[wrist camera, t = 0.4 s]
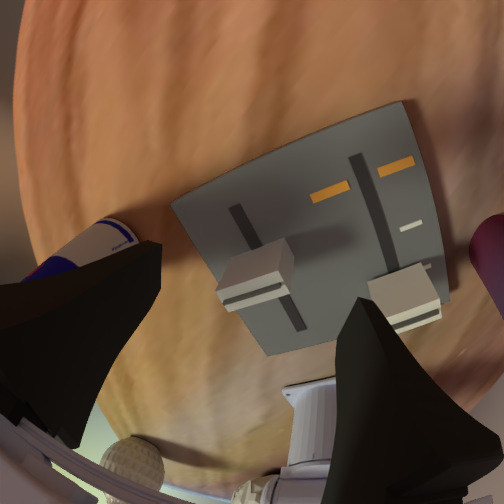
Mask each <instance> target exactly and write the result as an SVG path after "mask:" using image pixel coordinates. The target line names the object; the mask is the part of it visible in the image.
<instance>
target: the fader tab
mask: <svg viewBox="0 0 504 504" xmlns="http://www.w3.org/2000/svg"><path fill="white" fill-rule="evenodd" d="M367 283H368V287H369V291H370V295H371V299H372V300H373V301H374V302H375V304H376V305H377V306H378V307H379V309H380V310H381V312H382V313H383V314H384V316H385V317H386V319H387V320H388V322H389V323H390V324H391V326H392V327H393V329H394V330H395V332H396V333H397V334H398V333H401V332H404V331H407V330H410V329H413V328H416V327H418V326H421V325H424V324H427V323H429V322H432V321H435V320H437V319H440V318H442V315H441V305H440V298H439V296H438V294H437V292H436V290H435V288H434V286H433V284H432V282H431V280H430V279H429V277H428V275H427V273H426V271H425V269H424V268H423V266H422V264H421V262H420V263H418V264H415V265H413V266H410V267H407V268H405V269H402V270H399V271H396V272H394V273H391V274H388V275H385V276H383V277H380V278H377V279H374V280H371V281H368V282H367Z"/></svg>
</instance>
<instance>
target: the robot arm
mask: <svg viewBox="0 0 504 504" xmlns="http://www.w3.org/2000/svg"><path fill="white" fill-rule="evenodd" d="M161 258H162V244H159V243H156V242H152V241H149V240H147V241H143V242H140V243H138V244H135V245H133V246H130V247H128V248H125V249H123V250H121V251H118V252H116V253H114V254H111V255H109V256H106V257H104V258H102V259H99V260H96V261H94V262H91V263H89V264H86V265H83V266H81V267H78V268H75V269H72V270H69V271H66V272H63V273H59V274H56V275H52V276H49V277H44V278H40V279H35V280H30V281H26V282H20V283H13V284H4V285H0V504H97V503H98V498H97V497H95V496H93V495H92V494H90V493H89V492H87V491H85V490H84V489H82V488H81V487H79V486H78V485H77V484H76V483H75V482H73V481H71V480H70V479H68V478H67V477H65V476H64V475H62V474H61V473H59V472H58V471H56V470H55V469H53V468H52V464H51V461H52V462H53V463H55V464H56V465H58V466H59V467H61V468H62V469H64V470H66V471H67V472H69V473H70V474H72V475H74V476H76V477H77V478H79V479H81V480H82V481H84V482H86V483H88V484H90V485H91V486H93V487H95V488H97V489H99V490H101V491H103V492H105V493H107V494H109V495H111V496H113V497H115V498H117V499H119V500H121V501H124V502H126V503H128V504H195V503H191V502H188V501H184V500H181V499H178V498H175V497H172V496H169V495H167V494H164V493H161V492H158V491H156V490H153V489H150V488H148V487H145V486H143V485H141V484H138V483H136V482H133V481H131V480H129V479H127V478H124V477H122V476H120V475H118V474H116V473H114V472H112V471H110V470H108V469H106V468H104V467H102V466H100V465H98V464H96V463H94V462H92V461H90V460H88V459H87V458H85V457H83V456H81V455H79V454H78V453H76V452H74V451H73V450H71V449H76V448H78V447H79V446H80V443H81V439H82V436H83V433H84V430H85V427H86V424H87V421H88V418H89V416H90V413H91V410H92V408H93V406H94V403H95V401H96V398H97V396H98V394H99V392H100V389H101V387H102V385H103V383H104V381H105V379H106V377H107V375H108V373H109V371H110V369H111V367H112V365H113V363H114V361H115V359H116V358H117V356H118V354H119V353H120V351H121V350H122V348H123V347H124V346H125V344H126V343H127V341H128V340H129V338H130V337H131V336H132V334H133V333H134V331H135V330H136V329H137V327H138V326H139V324H140V323H141V322H142V320H143V319H144V317H145V316H146V314H147V313H148V312H149V310H150V308H151V307H152V305H153V303H154V301H155V299H156V297H157V295H158V293H159V291H160V289H161ZM335 371H336V377H332V378H328V379H324V380H319V381H314V382H310V383H305V384H300V385H294V386H289V387H284V388H282V393H283V395H284V396H285V397H286V399H287V400H288V401H289V403H290V404H291V405H292V406H293V408H294V409H295V411H294V419H293V427H292V435H291V442H290V449H289V456H288V463H287V467H281V473H280V475H275V476H273V477H272V478H271V480H269V481H268V482H267V483H266V485H265V487H264V489H263V492H262V496H261V500H260V504H463V500H462V497H465V496H466V495H467V494H468V487H467V486H468V485H470V484H471V483H473V482H475V481H477V480H478V479H480V478H482V477H483V476H485V475H487V474H488V473H490V472H491V471H492V470H494V469H495V468H496V467H498V466H499V465H500V463H501V462H502V461H503V459H504V454H503V449H502V446H501V441H500V438H499V436H498V435H497V434H496V433H494V432H493V431H491V430H490V429H488V428H487V427H485V426H484V425H482V424H481V423H479V422H478V421H477V420H475V419H474V418H473V417H472V416H470V415H469V414H468V413H467V412H465V411H464V410H463V409H462V408H461V407H460V406H458V405H457V404H456V403H455V402H454V401H453V400H452V399H451V398H450V397H449V396H448V395H447V394H446V393H445V392H444V391H443V390H442V389H441V388H440V387H439V386H438V385H437V384H436V383H435V382H434V381H433V380H432V378H431V377H430V376H429V375H428V374H427V373H426V372H425V370H424V369H423V368H422V367H421V366H420V364H419V363H418V362H417V361H416V359H415V358H414V357H413V355H412V354H411V353H410V351H409V350H408V349H407V347H406V346H405V345H404V343H403V342H402V340H401V339H400V337H399V336H398V335H397V333H396V332H395V330H394V329H393V327H392V326H391V324H390V323H389V322H388V320H387V319H386V317H385V316H384V314H383V313H382V312H381V310H380V309H379V307H378V306H377V305H376V304H375V302H374V301H373V300H369V299H365V298H361V297H357V299H356V302H355V304H354V306H353V308H352V310H351V312H350V313H349V315H348V317H347V319H346V321H345V323H344V325H343V327H342V329H341V331H340V333H339V335H338V336H337V345H336V357H335ZM464 504H493V499H492V495H488V496H485V497H482V498H479V499H475V500H472V501H470V502H467V503H464Z"/></svg>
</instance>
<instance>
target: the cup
mask: <svg viewBox="0 0 504 504" xmlns="http://www.w3.org/2000/svg"><path fill="white" fill-rule="evenodd" d="M469 254H470V260H471V263H472V265H473V267H474V268H475V270H476V271H477V273H478V275H479V276H480V278H481V280H482V281H483V283H484V285H485V287H486V288H487V290H488V292H489V294H490V295H491V297H492V299H493V301H494V303H495V304H496V306H497V308H498V310H499V312H500V314H501V316H502V318H503V320H504V216H503V215H494V216H492V217H489V218H488V219H486V220H485V221H484V222H483V223H482V224H481V225H480V226H479V227H478V228H477V230H476V232H475V233H474V235H473V238H472V240H471V244H470V250H469Z"/></svg>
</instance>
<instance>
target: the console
mask: <svg viewBox="0 0 504 504" xmlns="http://www.w3.org/2000/svg"><path fill="white" fill-rule="evenodd" d="M170 206H171V207H172V209H173V211H174V212H175V214H176V216H177V217H178V219H179V221H180V222H181V224H182V226H183V227H184V229H185V231H186V232H187V234H188V235H189V237H190V239H191V240H192V242H193V244H194V245H195V247H196V248H197V250H198V252H199V253H200V255H201V256H202V258H203V260H204V261H205V263H206V264H207V266H208V268H209V269H210V271H211V272H212V274H213V275H214V277H215V279H216V280H217V282H218V283H219V284H218V286H217V288H216V290H215V293H216V294H217V296H218V297H219V299H220V300H221V302H222V303H223V305H224V306H225V308H226V309H227V311H228V312H230V311H234V310H236V311H237V312H238V314H239V315H240V317H241V318H242V320H243V321H244V323H245V324H246V326H247V327H248V329H249V330H250V332H251V333H252V335H253V336H254V338H255V339H256V341H257V342H258V344H259V345H260V347H261V348H262V350H263V351H264V352H265V354H266V355H267V356H271V355H276V354H281V353H285V352H289V351H293V350H298V349H302V348H306V347H310V346H314V345H318V344H321V343H325V342H329V341H333V340H336V339H337V336H338V335H339V333H340V331H341V329H342V327H343V325H344V323H345V321H346V319H347V317H348V315H349V313H350V312H351V310H352V308H353V306H354V304H355V302H356V299H357V297H361V298H365V299H369V300H372V299H371V295H370V291H369V287H368V283H367V282H368V281H371V280H374V279H377V278H380V277H383V276H385V275H388V274H391V273H394V272H396V271H399V270H402V269H405V268H407V267H410V266H413V265H415V264H418V263H420V262H421V264H422V266H423V268H424V269H425V271H426V273H427V275H428V277H429V279H430V280H431V282H432V284H433V286H434V288H435V290H436V292H437V294H438V296H439V298H440V305H441V304H443V303H446V302H448V301H450V296H449V286H448V277H447V269H446V262H445V255H444V249H443V243H442V237H441V232H440V227H439V222H438V217H437V213H436V208H435V204H434V200H433V196H432V192H431V188H430V184H429V180H428V177H427V173H426V170H425V166H424V163H423V160H422V156H421V153H420V150H419V147H418V144H417V141H416V138H415V135H414V133H413V130H412V127H411V124H410V122H409V119H408V117H407V114H406V111H405V109H404V106H403V104H402V102H401V101H395V102H392V103H389V104H386V105H384V106H381V107H378V108H375V109H372V110H369V111H367V112H364V113H361V114H359V115H356V116H353V117H351V118H348V119H346V120H343V121H340V122H338V123H335V124H333V125H330V126H328V127H325V128H323V129H320V130H318V131H316V132H313V133H311V134H308V135H306V136H304V137H301V138H299V139H297V140H294V141H292V142H290V143H288V144H285V145H283V146H281V147H279V148H276V149H274V150H272V151H270V152H268V153H266V154H263V155H261V156H259V157H257V158H255V159H253V160H251V161H249V162H247V163H244V164H242V165H240V166H238V167H236V168H234V169H232V170H230V171H228V172H226V173H224V174H222V175H220V176H218V177H216V178H214V179H212V180H210V181H208V182H207V183H205V184H203V185H201V186H199V187H197V188H195V189H193V190H191V191H189V192H188V193H186V194H184V195H182V196H180V197H178V198H177V199H175V200H174V201H173V202H172V203H170Z"/></svg>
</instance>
